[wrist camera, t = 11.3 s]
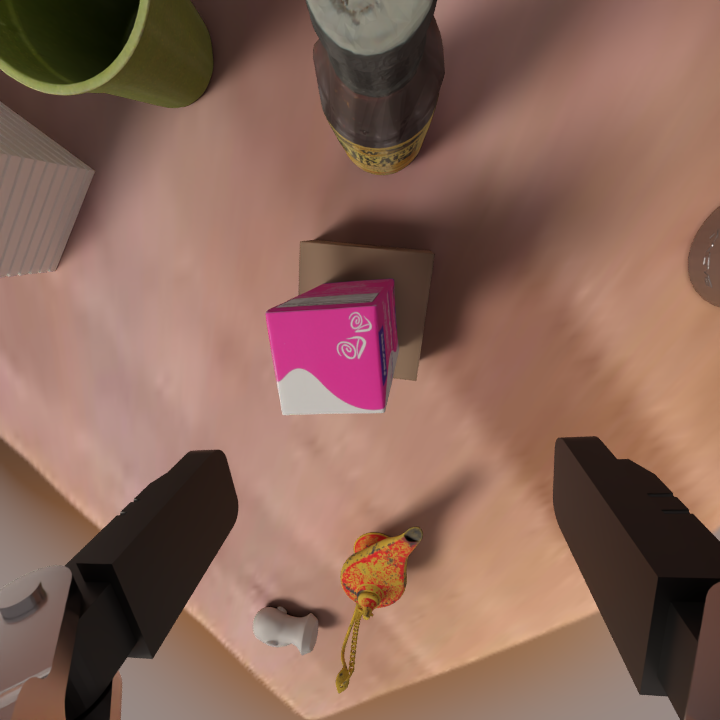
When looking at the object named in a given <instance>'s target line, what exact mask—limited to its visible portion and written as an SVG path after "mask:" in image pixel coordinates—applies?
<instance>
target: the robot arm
mask: <svg viewBox="0 0 720 720" xmlns="http://www.w3.org/2000/svg"><path fill="white" fill-rule="evenodd" d="M688 272H689V277H690V281H691V283H692V285H693V287H694V289H695V290H696V292H697V293H698V294H699V295H700V296H701V297H702V298H703V299H704V300H706V301H708V302H709V303H711V304H713V305H715V306H718V307H720V207H718V208H717V209H716V210H715V211H714V212H713V213H712V214H711V215H710V216H709V217H708V218H707V219H706V221H705V222H704V223H703V225H702V226H701V228H700V229H699V230H698V232H697V234H696V236H695V238H694V240H693V242H692V245H691V249H690V253H689V257H688ZM553 505H554V511H555V515H556V519H557V522H558V525H559V527H560V529H561V531H562V533H563V536H564V538H565V540H566V542H567V544H568V546H569V548H570V550H571V552H572V554H573V556H574V559H575V561H576V563H577V565H578V567H579V569H580V571H581V573H582V575H583V577H584V579H585V582H586V584H587V586H588V588H589V590H590V592H591V594H592V596H593V598H594V600H595V602H596V604H597V607H598V609H599V611H600V613H601V615H602V617H603V619H604V621H605V623H606V625H607V627H608V629H609V632H610V634H611V635H612V638H613V640H614V642H615V644H616V646H617V648H618V650H619V653H620V654H621V656H622V659H623V661H624V663H625V665H626V667H627V669H628V671H629V673H630V675H631V678H632V679H633V682H634V684H635V686H636V688H637V690H638V692H639V694H640V695H654V696H668V698H669V700H670V701H671V703H672V705H673V707H674V709H675V711H676V713H677V714H678V716H679V718H680V720H720V541H719V540H718V539H717V538H716V537H715V536H714V535H713V534H712V533H711V532H710V531H709V530H708V529H707V528H706V527H705V526H704V525H703V524H702V523H701V522H700V521H699V520H698V519H697V517H696V516H695V515H694V514H690V513H689V509H688V508H687V507H686V506H685V505H684V504H683V503H682V502H681V501H680V500H679V499H678V498H677V497H674V496H673V493H672V492H671V491H670V490H669V489H668V487H667V486H666V485H665V484H664V483H663V482H662V481H661V480H660V479H659V478H658V477H657V476H656V475H655V474H653V473H652V472H650V471H648V470H647V469H645V468H643V467H641V466H640V465H638V464H636V463H634V462H633V461H631V460H629V459H617V458H616V457H615V456H614V455H613V454H612V453H611V451H610V450H609V449H608V448H607V447H606V446H605V445H604V443H603V442H602V441H601V440H600V439H599V438H598V437H595V436H592V437H565V438H558V439H557V440H556V443H555V455H554V481H553ZM120 513H121V514H120V515H117V516H116V517H115V518H114V519H113V520H112V521H111V522H110V523H109V524H108V525H107V526H105V527H104V528H103V529H102V530H101V531H100V532H99V533H98V534H97V535H96V536H95V537H94V538H93V539H92V540H91V541H90V542H89V543H88V544H87V545H86V546H85V547H84V548H83V549H82V550H81V551H80V552H79V553H78V554H77V555H75V556H74V557H73V558H72V559H71V560H70V561H69V562H68V563H67V564H66V565H65V566H61V565H56V566H49V567H45V568H41V569H38V570H35V571H32V572H30V573H28V574H26V575H23V576H22V577H20V578H18V579H16V580H14V581H12V582H11V583H9V584H7V585H6V586H5V587H3V588H2V589H0V720H121V719H120V718H121V700H122V678H121V675H120V673H119V671H118V670H119V668H120V667H121V666H122V664H123V663H124V661H125V660H126V658H127V657H132V658H147V659H153V658H154V656H155V654H156V653H157V651H158V649H159V647H160V646H161V644H162V643H163V641H164V639H165V638H166V636H167V635H168V633H169V631H170V629H171V628H172V626H173V625H174V623H175V621H176V620H177V618H178V616H179V615H180V613H181V612H182V610H183V608H184V607H185V605H186V603H187V602H188V600H189V598H190V597H191V595H192V594H193V592H194V590H195V589H196V587H197V585H198V584H199V582H200V580H201V579H202V577H203V575H204V574H205V572H206V571H207V569H208V567H209V566H210V564H211V562H212V561H213V559H214V557H215V556H216V554H217V552H218V551H219V549H220V548H221V546H222V544H223V543H224V541H225V539H226V538H227V536H228V534H229V533H230V531H231V529H232V528H233V526H234V524H235V522H236V519H237V515H238V499H237V495H236V491H235V488H234V484H233V480H232V477H231V473H230V469H229V466H228V462H227V459H226V456H225V454H224V453H223V452H222V451H221V450H197V451H190V452H188V453H187V454H186V455H185V456H184V457H183V458H182V459H181V460H180V461H179V462H178V463H177V464H176V465H175V466H174V467H173V468H172V469H171V470H170V471H169V472H168V473H166V474H164V475H163V476H161V477H160V478H158V479H157V480H155V481H153V482H152V483H150V484H149V485H148V486H147V487H146V488H145V489H144V490H143V491H142V492H141V493H140V494H139V495H138V496H137V497H136V498H134V502H130V503H129V504H128V505H127V506H126V507H125V508H124V509H123V510H122V511H121V512H120Z"/></svg>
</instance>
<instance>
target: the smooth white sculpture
mask: <svg viewBox="0 0 720 720" xmlns="http://www.w3.org/2000/svg"><path fill="white" fill-rule="evenodd" d="M253 632H254V635H255V637H256V638H257V639H259V640H260V641H262V642H263V643H265V644H266V645H269V646H272V647H283V646H287V645H290V644H293V645H295V646H296V647H297V648H298V649H299V651H300V653H301V655H304V654H307V653H309V652H311V651H312V650H313V648H314V646H315V643H316V639H317V634H318V619H317V618H316V617H315V616H314V615H313V614H312V613H310V614H308V615H307V616H305V617H300V618H299V617H293V616H290V615H287V611H286V610H285V609H284V608H283V607H277V609H276V608H273V607H266V608H263V609H261V610H260V611H259V612H258V613H257V614H256V616H255V618H254V621H253Z"/></svg>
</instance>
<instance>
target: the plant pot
mask: <svg viewBox="0 0 720 720" xmlns="http://www.w3.org/2000/svg"><path fill="white" fill-rule="evenodd" d="M0 69H1V70H2V71H3V72H4V73H6V74H7V75H9V76H10V77H12V78H13V79H15V80H16V81H18V82H20V83H22V84H23V85H25V86H27V87H29V88H32V89H34V90H37V91H40V92H44V93H48V94H54V95H67V96H68V95H78V94H83V93H87V92H89V93H107V94H111V95H116V96H120V97H124V98H128V99H133V100H137V101H141V102H145V103H149V104H153V105H158V106H162V107H167V108H178V107H185V106H188V105H190V104H192V103H193V102H194V101H196V100H197V99H198V98H199V97H200V96H201V95H202V94H203V93H204V91H205V90H206V88H207V86H208V84H209V81H210V79H211V75H212V71H213V55H212V45H211V38H210V35H209V32H208V30H207V27H206V26H205V24H204V22H203V20H202V18H201V17H200V15H199V13H198V12H197V10H196V9H195V7H194V5H193V4H192V2H191V1H190V0H0Z"/></svg>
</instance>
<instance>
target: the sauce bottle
mask: <svg viewBox="0 0 720 720" xmlns="http://www.w3.org/2000/svg"><path fill="white" fill-rule="evenodd" d="M436 3H437V0H306V4H307V7H308V10H309V14H310V18H311V21H312V24H313V27H314V30H315V32H316V34H317V35H318V37H319V40H318V41H317V42H316V43H315V45H314V49H313V60H314V65H315V71H316V76H317V82H318V88H319V94H320V99H321V105H322V109H323V111H324V114H325V116H326V118H327V120H328V122H329V124H330V126H331V128H332V129H333V131H334V133H335V135H336V136H337V139H338V140H339V142H340V143H341V145H342V146H343V148H344V150H345V151H346V153H347V155H348V157H349V158H350V159H351V160H352V161H353V162H354V164H356V165H357V166H358V167H359V168H361V169H362V170H364V171H366V172H369V173H372V174H376V175H388V174H393V173H396V172H398V171H400V170H402V169H403V168H405V167H406V166H407V165H408V164H409V163H410V162H412V160H413V159H414V158H415V157H416V155H417V154H418V152H419V150H420V148H421V146H422V143H423V140H424V138H425V135H426V133H427V131H428V128H429V125H430V122H431V120H432V117H433V114H434V111H435V108H436V104H437V100H438V96H439V91H440V87H441V84H442V81H443V78H444V74H445V70H444V54H443V45H442V39H441V35H440V31H439V29H438V26H437V23H436V20H435V18H434V11H435V7H436Z"/></svg>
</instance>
